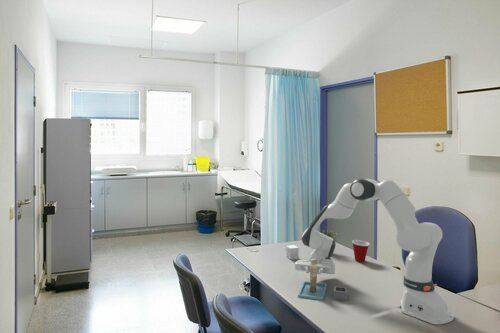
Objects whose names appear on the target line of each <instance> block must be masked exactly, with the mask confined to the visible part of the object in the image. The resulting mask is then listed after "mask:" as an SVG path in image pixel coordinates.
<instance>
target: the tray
mask: <svg viewBox="0 0 500 333" xmlns="http://www.w3.org/2000/svg"><path fill="white" fill-rule="evenodd" d="M327 286H328V284H327V283H322V282H317V283H316V292H310V281H305V280H303V282H302V283H301V287H300V289H299V292H298V294H297V298H301V299H302V298H304V299H309V300H317V301H324V299H325V294H326V291H327V288H328V287H327Z"/></svg>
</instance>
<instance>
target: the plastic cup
mask: <svg viewBox="0 0 500 333" xmlns="http://www.w3.org/2000/svg"><path fill="white" fill-rule="evenodd" d="M351 242H352V243H351V244H352V247H353V255H354V261H355V262H357V263H365V261H366V257H367V253H368V249H369V246H370V242H368V241H365V240H360V239H353V240H352V241H351Z"/></svg>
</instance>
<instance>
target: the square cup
mask: <svg viewBox="0 0 500 333" xmlns="http://www.w3.org/2000/svg"><path fill="white" fill-rule="evenodd" d="M333 300H337V301H345V302H347V300H348V287H347V286H346V287H345V286H336V285H334V286H333Z"/></svg>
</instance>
